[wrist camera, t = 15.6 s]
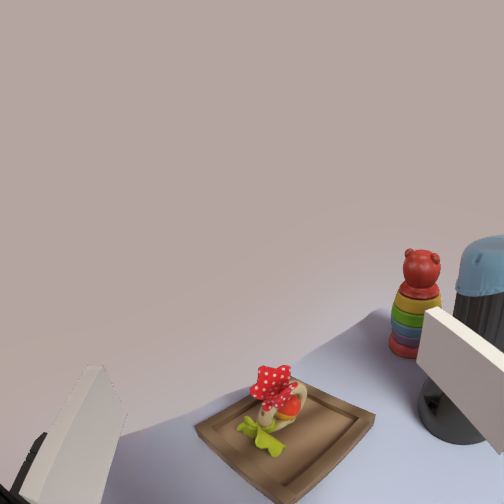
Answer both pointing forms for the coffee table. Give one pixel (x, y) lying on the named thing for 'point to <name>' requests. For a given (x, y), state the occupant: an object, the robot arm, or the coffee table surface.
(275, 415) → the bird rattle
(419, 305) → the stacking bear
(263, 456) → the walnut plate
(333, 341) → the coffee table surface
